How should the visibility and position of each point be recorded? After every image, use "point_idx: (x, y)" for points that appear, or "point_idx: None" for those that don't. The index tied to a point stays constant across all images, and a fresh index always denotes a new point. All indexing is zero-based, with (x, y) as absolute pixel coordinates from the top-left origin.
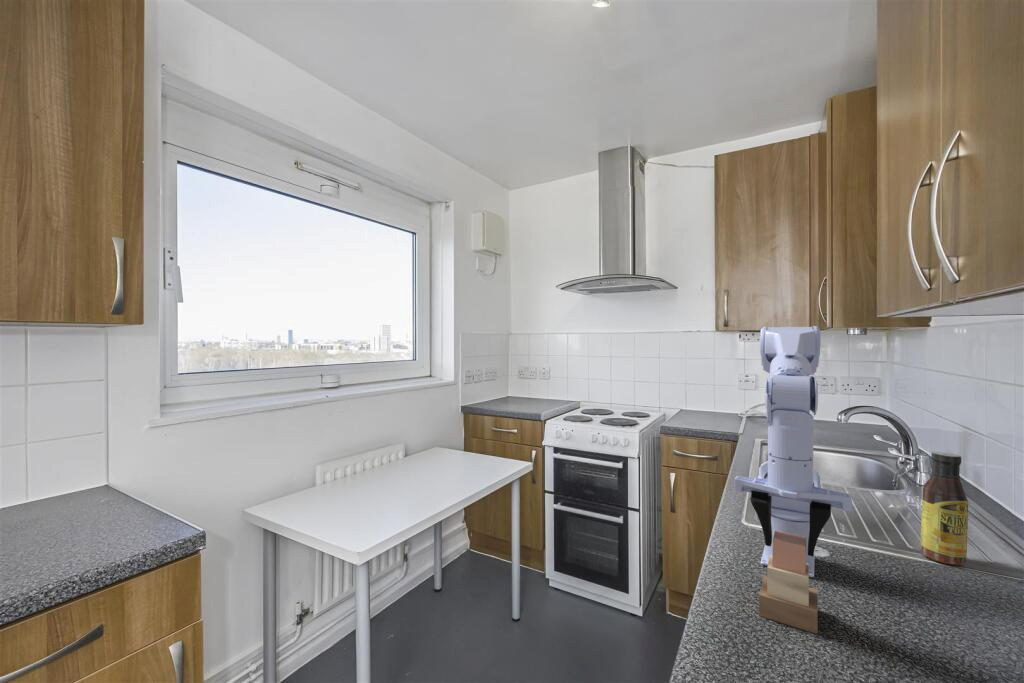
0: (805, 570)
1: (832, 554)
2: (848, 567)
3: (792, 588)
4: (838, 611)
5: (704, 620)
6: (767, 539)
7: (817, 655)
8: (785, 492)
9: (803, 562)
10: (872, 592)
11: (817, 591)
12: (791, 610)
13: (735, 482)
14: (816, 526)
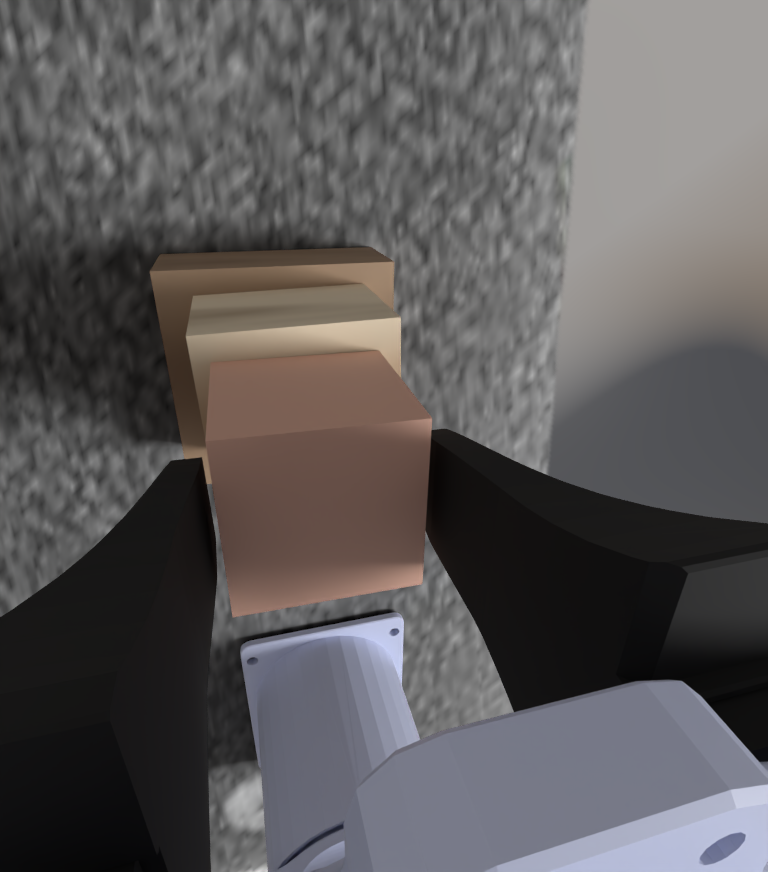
0: None
1: (216, 816)
2: None
3: (265, 305)
4: (129, 485)
5: (553, 52)
6: (455, 437)
7: (126, 63)
8: (696, 817)
9: (219, 387)
10: None
11: None
12: (259, 262)
13: None
14: (86, 588)
